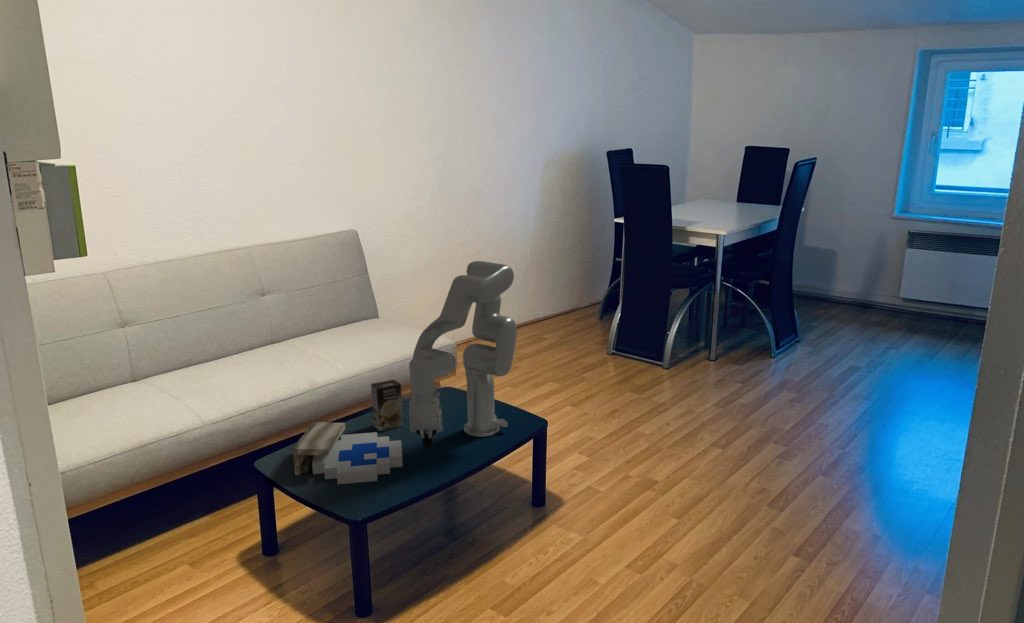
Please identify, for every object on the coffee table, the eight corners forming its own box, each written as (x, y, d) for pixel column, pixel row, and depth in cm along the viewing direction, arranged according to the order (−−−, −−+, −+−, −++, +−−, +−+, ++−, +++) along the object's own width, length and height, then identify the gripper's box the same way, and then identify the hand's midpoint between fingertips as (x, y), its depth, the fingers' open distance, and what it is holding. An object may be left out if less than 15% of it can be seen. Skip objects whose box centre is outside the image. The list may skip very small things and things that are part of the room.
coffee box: (379, 431, 277) (376, 389, 273) (372, 425, 282) (369, 383, 278) (403, 426, 282) (401, 384, 277) (396, 419, 287) (394, 378, 282)
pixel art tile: (400, 430, 269) (402, 467, 243) (401, 441, 270) (403, 479, 244) (317, 436, 265) (309, 475, 239) (318, 447, 266) (310, 487, 240)
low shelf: (347, 447, 265) (345, 422, 263) (329, 475, 246) (327, 449, 244) (315, 446, 266) (312, 422, 264) (295, 474, 247) (292, 448, 245)
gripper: (449, 390, 250) (452, 442, 256) (402, 390, 252) (407, 442, 257) (445, 400, 243) (449, 453, 249) (397, 400, 245) (402, 453, 250)
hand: (428, 447), depth 253 cm, fingers closed
